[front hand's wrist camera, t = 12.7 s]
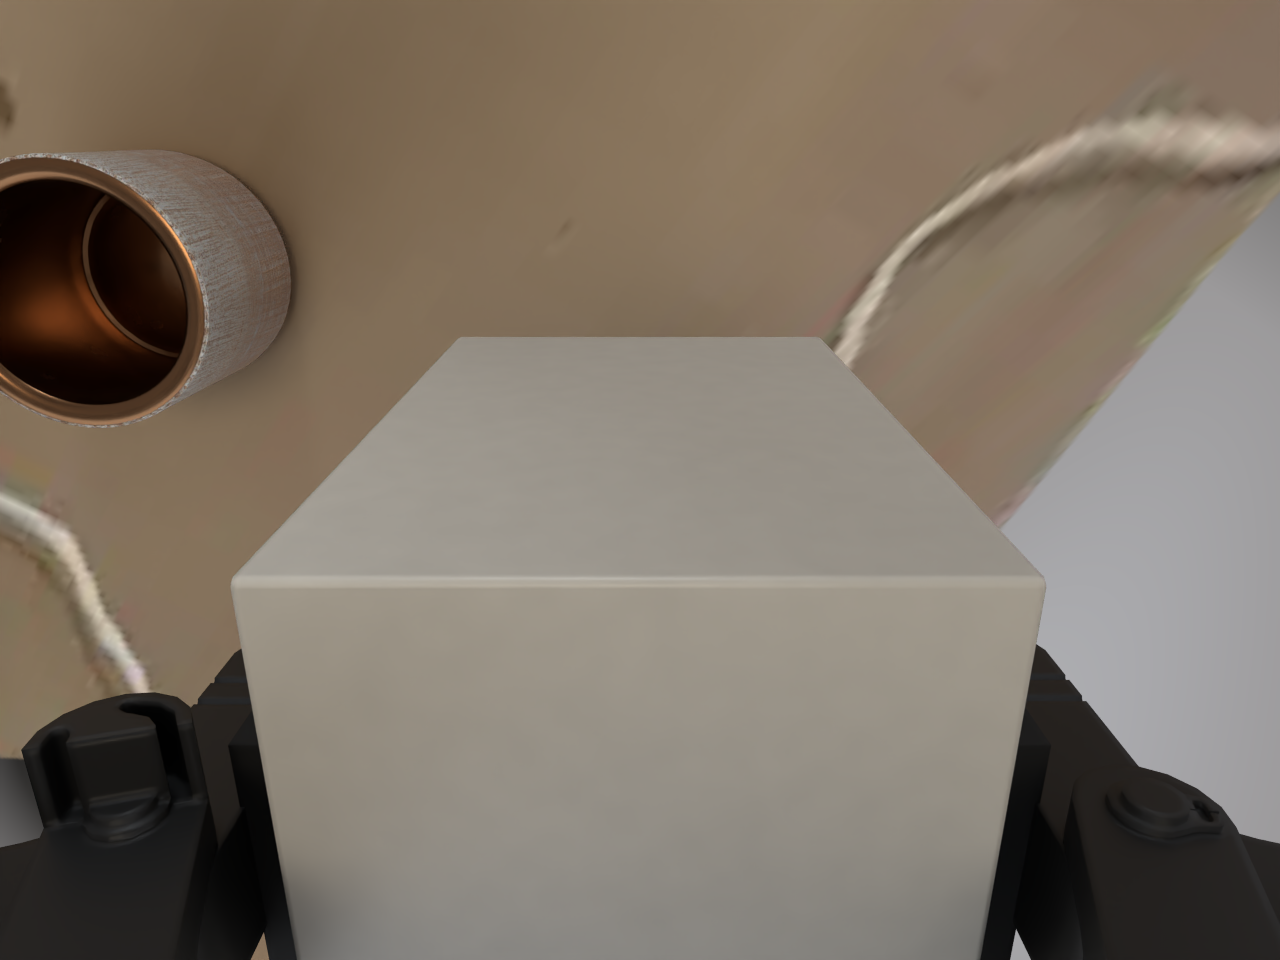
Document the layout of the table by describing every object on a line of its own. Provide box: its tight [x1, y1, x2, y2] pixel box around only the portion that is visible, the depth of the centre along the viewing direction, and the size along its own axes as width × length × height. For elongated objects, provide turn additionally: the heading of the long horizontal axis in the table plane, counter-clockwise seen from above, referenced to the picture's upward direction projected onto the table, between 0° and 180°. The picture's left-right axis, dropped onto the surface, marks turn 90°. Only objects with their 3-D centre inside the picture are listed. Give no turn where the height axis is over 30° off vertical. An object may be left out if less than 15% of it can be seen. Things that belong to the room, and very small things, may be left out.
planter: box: [0, 150, 291, 428], centre depth 40 cm, size 11×11×10 cm
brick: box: [231, 337, 1046, 960], centre depth 11 cm, size 6×7×8 cm
